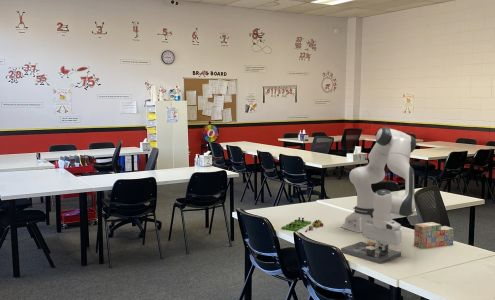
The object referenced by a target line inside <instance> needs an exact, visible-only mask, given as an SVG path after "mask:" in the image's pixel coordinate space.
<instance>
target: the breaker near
mask: <svg viewBox="0 0 495 300" xmlns="http://www.w3.org/2000/svg"><path fill="white" fill-rule="evenodd" d="M375 249H376V247H373V246H368V247H366V254H369V255H374V254H375Z"/></svg>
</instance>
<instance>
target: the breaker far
mask: <svg viewBox="0 0 495 300" xmlns="http://www.w3.org/2000/svg"><path fill="white" fill-rule="evenodd" d="M380 244H381V246H383V244H382V242H380ZM389 245H390V244H389V243H387V245H386V246H385V250H388V249H389Z"/></svg>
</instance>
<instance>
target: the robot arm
mask: <svg viewBox="0 0 495 300" xmlns="http://www.w3.org/2000/svg"><path fill="white" fill-rule="evenodd" d="M375 141H376V142H375V144H374V145H373V147H372V148H371V151H370V152H369V153H368V163H367V165H363V166H358V167H357V166H356V167H355V168H353V169H351V171H349V177H348V178H349V182H350V183H352V184H353V186H354V188H355V190H356V205H355V206H353V207H352V208H353V210H354V211H352V212H351V213H350V214H349V215H347V216H346V217H345V218H344V219H345V220H344V223H342V224H341V225H340V228H342V229H345V230H348V231H351V232H354V233H362V236H363V237H364V238H365V239H371V240H374V241H375V243H376V246H378V249H379V250H385V246H386V245H387V243H389V244H388V245H393V246H399V245H401V244H402V242H403V238H402V237H403V236H402V231H401V228H402V224H401V223H399V222H397V221H396V220H394V219H393V217H392V215H397V216H398V215H399V216H402V217H410V216H412V215H413V214H414V213H415V211H416V203H415V202H416V201H415V198H416V197H415V171H414V168H413V167H412V166H411V165H410V159H411V153H413V152H414V150H415V149H416V146H417V140H416V138H415V137H414V136H412V135H410V134H408V133H405V132H403V131H401V130H398V129H394V128H390V127H387V126H382V127H381V128H379V129H378V131H377V133H376V135H375ZM386 166H387V168H388V169H389V170H390V171H391V172H392V173H393V174H394V175H396V176H399V177H401V178H403V180H405V181H404V183H405V188H404V190H405V191H404V193H405V194H404V195H397V194H392V191H391V190H388V189H378V190H376V191H375V192H374V191H373V189H372V184H378V183H380V182H382V181H384V180H385V176H386V172H385V167H386ZM380 242H382V244H383V246H381V244H380Z"/></svg>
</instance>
